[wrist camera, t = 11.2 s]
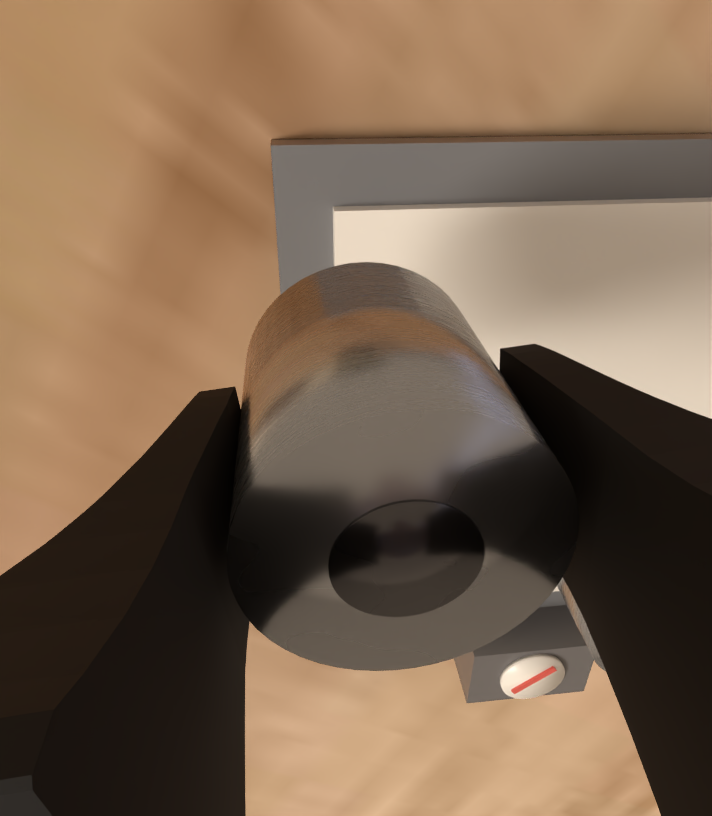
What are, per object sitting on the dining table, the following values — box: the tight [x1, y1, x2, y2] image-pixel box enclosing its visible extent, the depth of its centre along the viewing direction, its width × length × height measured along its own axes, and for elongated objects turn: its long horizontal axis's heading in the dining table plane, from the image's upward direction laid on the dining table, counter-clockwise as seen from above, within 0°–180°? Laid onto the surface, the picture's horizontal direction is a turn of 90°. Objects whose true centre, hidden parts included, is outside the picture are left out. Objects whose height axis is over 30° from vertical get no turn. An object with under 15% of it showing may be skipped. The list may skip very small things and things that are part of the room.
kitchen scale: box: [271, 134, 712, 703], centre depth 21 cm, size 18×21×3 cm
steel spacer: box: [227, 262, 579, 671], centre depth 10 cm, size 4×4×5 cm
